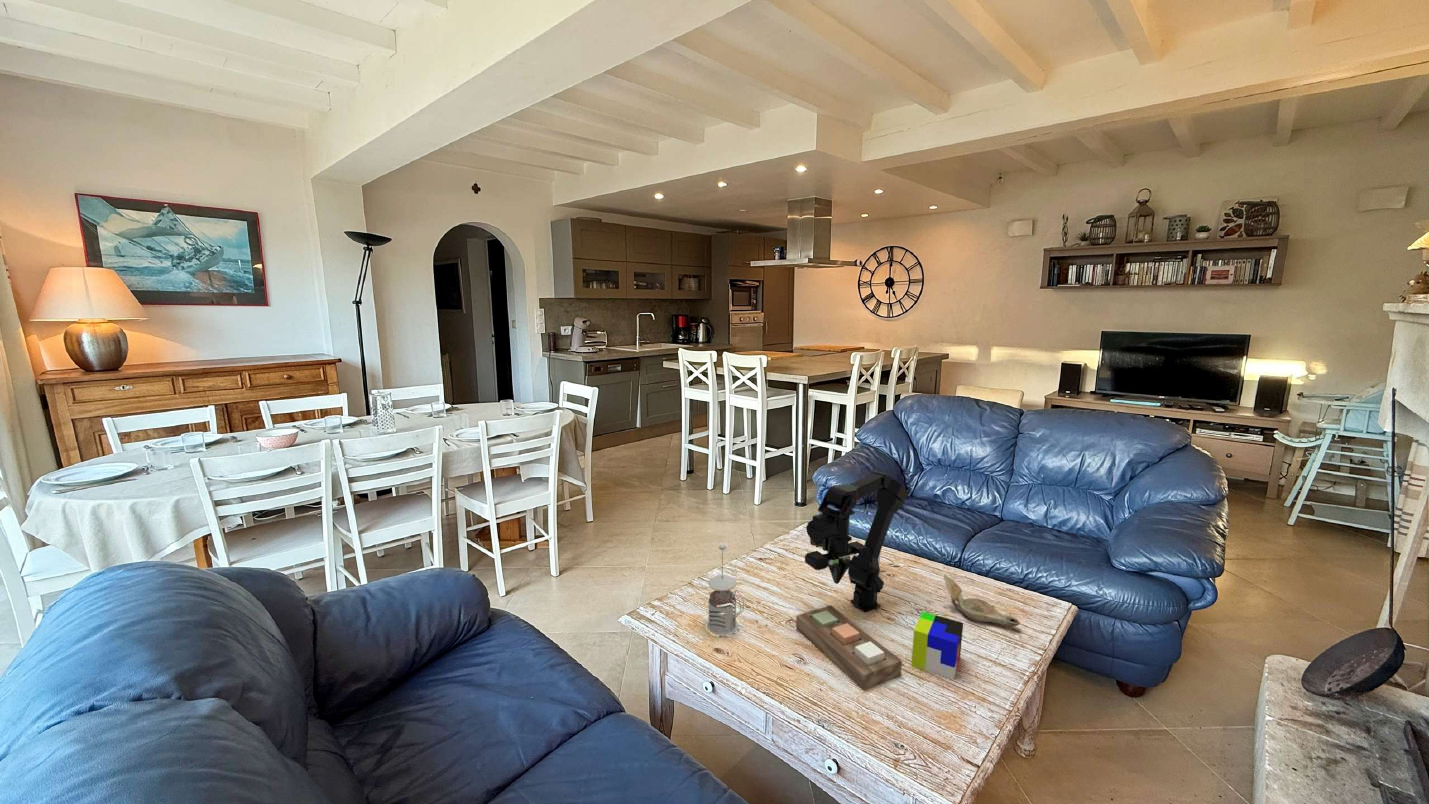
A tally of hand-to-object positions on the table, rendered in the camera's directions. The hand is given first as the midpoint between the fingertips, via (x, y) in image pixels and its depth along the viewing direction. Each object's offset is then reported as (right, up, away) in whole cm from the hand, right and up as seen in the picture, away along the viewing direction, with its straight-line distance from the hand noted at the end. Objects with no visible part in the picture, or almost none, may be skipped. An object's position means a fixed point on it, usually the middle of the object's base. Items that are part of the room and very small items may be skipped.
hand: (836, 583), depth 158 cm
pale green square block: (-4, -11, -3) cm, 12 cm away
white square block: (+4, -13, -19) cm, 24 cm away
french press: (-32, -13, -1) cm, 34 cm away
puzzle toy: (+22, -15, -15) cm, 31 cm away
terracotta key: (0, -11, -11) cm, 16 cm away
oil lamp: (+43, -12, +4) cm, 44 cm away
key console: (0, -14, -11) cm, 18 cm away
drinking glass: (+18, -7, +31) cm, 36 cm away
